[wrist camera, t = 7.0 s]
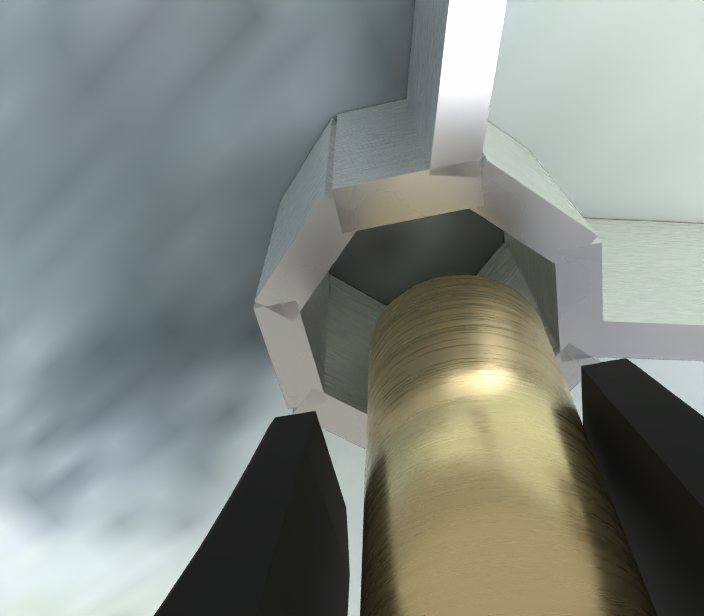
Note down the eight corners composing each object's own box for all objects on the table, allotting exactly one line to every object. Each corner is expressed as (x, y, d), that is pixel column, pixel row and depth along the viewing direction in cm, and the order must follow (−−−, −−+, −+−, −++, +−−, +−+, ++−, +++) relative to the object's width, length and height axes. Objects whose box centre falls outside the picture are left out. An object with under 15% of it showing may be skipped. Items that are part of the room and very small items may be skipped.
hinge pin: (577, 228, 10) (980, 877, 3) (576, 426, 12) (818, 1065, 5) (318, 266, 10) (201, 886, 4) (362, 448, 12) (336, 1053, 6)
